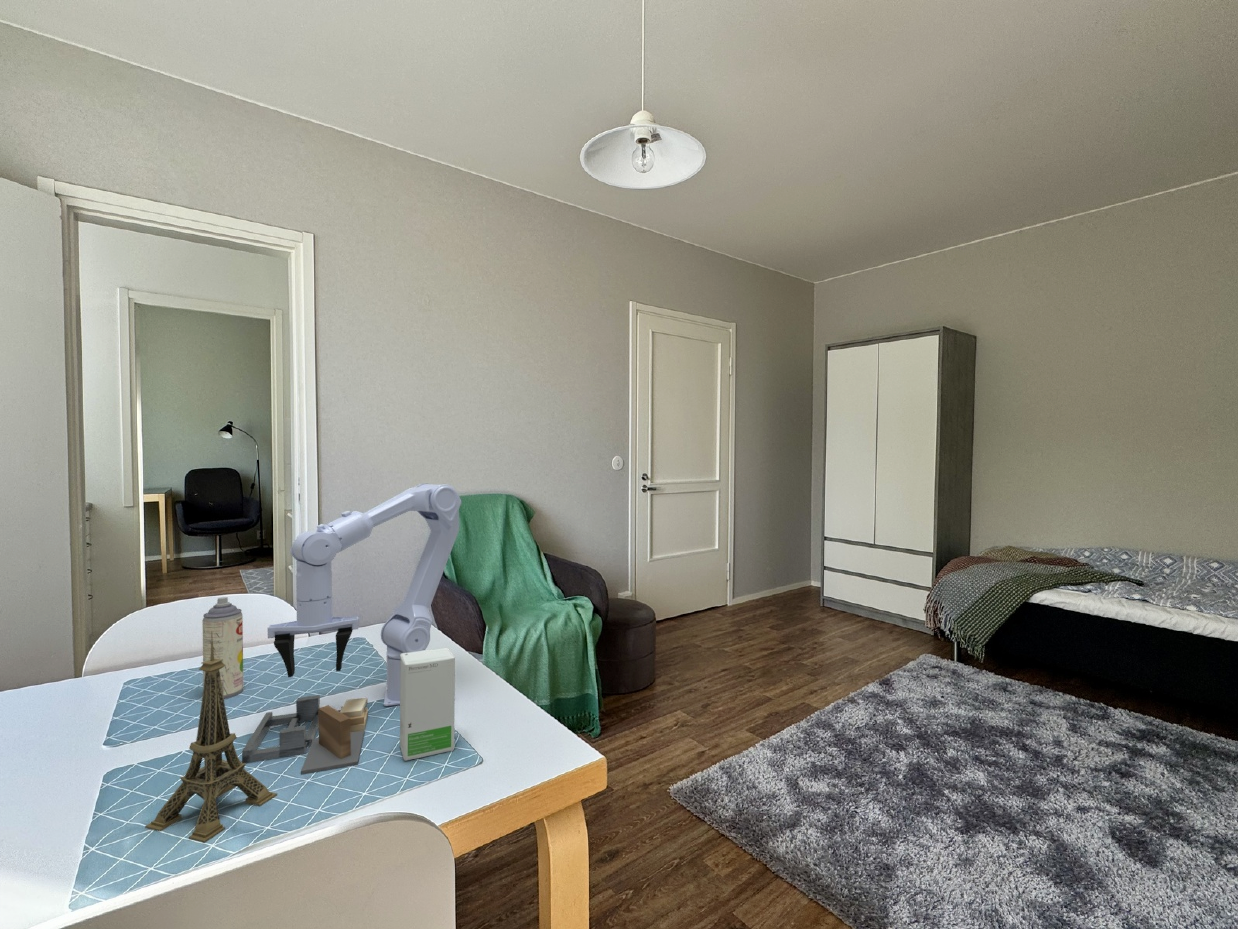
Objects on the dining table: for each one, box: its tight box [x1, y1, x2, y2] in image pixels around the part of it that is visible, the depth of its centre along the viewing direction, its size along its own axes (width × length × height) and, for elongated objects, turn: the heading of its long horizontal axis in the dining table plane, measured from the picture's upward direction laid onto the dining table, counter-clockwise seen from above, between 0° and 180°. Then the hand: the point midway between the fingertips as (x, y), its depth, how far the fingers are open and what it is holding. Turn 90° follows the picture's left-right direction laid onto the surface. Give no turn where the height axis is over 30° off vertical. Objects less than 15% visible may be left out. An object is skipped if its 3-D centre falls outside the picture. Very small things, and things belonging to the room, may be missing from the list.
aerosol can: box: [201, 596, 244, 700], centre depth 117 cm, size 7×7×20 cm
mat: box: [300, 730, 366, 775], centre depth 93 cm, size 8×11×1 cm
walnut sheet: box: [318, 704, 351, 759], centre depth 93 cm, size 2×8×6 cm, turn 51°
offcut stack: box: [339, 697, 369, 732], centre depth 103 cm, size 4×7×3 cm, turn 19°
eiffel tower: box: [144, 631, 278, 843], centre depth 78 cm, size 11×11×25 cm
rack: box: [241, 694, 321, 764], centre depth 98 cm, size 9×15×4 cm, turn 19°
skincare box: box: [399, 647, 456, 762], centre depth 94 cm, size 8×7×16 cm
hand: (315, 672), depth 102 cm, fingers open, 7 cm apart
